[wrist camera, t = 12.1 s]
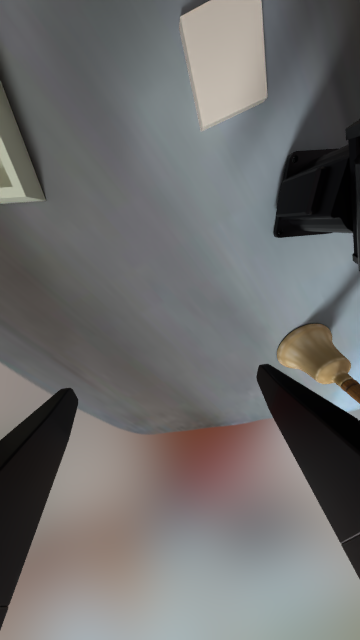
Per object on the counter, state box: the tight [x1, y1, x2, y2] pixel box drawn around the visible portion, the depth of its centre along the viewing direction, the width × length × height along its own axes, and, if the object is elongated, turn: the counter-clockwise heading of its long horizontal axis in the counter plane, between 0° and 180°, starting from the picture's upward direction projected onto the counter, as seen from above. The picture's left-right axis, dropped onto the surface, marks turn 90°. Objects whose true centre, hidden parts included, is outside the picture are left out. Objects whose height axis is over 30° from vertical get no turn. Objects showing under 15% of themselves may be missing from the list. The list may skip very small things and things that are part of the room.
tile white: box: [179, 0, 267, 132], centre depth 12 cm, size 5×5×1 cm
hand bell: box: [277, 324, 360, 403], centre depth 19 cm, size 8×8×16 cm
